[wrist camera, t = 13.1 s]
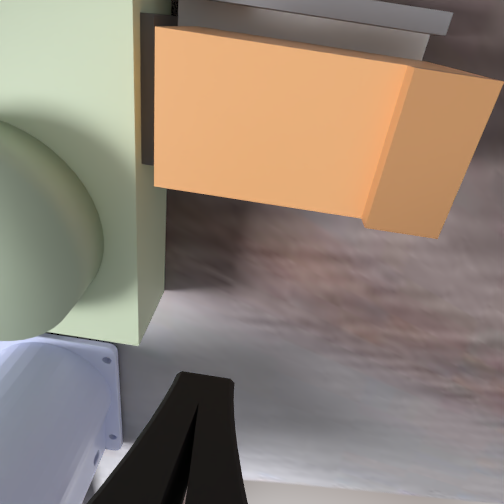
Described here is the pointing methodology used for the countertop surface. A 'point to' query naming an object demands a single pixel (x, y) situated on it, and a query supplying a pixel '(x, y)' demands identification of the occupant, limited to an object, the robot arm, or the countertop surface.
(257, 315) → the countertop surface
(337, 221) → the countertop surface
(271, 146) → the orange stepped block
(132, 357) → the countertop surface
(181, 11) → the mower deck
